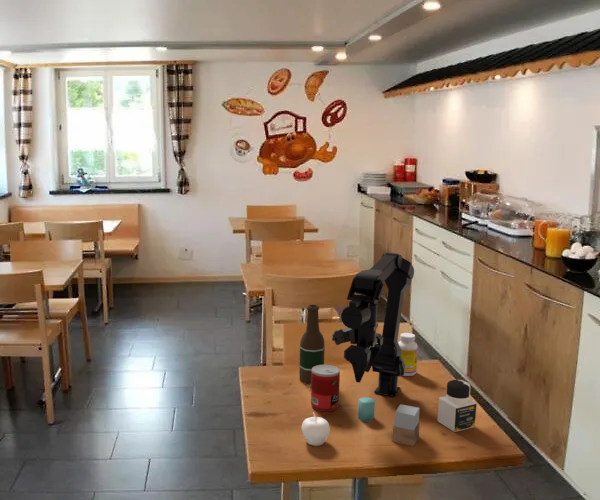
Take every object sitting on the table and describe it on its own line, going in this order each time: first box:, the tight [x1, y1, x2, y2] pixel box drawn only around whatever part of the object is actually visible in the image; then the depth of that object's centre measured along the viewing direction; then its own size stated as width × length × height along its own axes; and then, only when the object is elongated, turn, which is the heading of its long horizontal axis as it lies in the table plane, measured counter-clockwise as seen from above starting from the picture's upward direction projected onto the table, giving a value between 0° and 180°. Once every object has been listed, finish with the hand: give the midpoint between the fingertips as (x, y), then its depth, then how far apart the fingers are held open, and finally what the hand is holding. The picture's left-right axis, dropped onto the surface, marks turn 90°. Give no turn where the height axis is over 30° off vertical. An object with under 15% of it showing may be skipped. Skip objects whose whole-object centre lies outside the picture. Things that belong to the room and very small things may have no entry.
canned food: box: [310, 364, 341, 412], centre depth 183 cm, size 8×8×11 cm
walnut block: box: [391, 422, 421, 447], centre depth 165 cm, size 6×6×4 cm
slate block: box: [393, 403, 420, 431], centre depth 165 cm, size 5×5×4 cm
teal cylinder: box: [357, 397, 376, 423], centre depth 177 cm, size 4×4×5 cm
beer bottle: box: [299, 304, 326, 385], centre depth 201 cm, size 8×8×24 cm
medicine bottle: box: [437, 379, 477, 433], centre depth 173 cm, size 7×7×12 cm
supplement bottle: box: [398, 332, 419, 377], centre depth 209 cm, size 7×7×13 cm
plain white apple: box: [301, 411, 331, 447], centre depth 162 cm, size 7×7×8 cm
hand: (362, 376), depth 174 cm, fingers open, 9 cm apart
